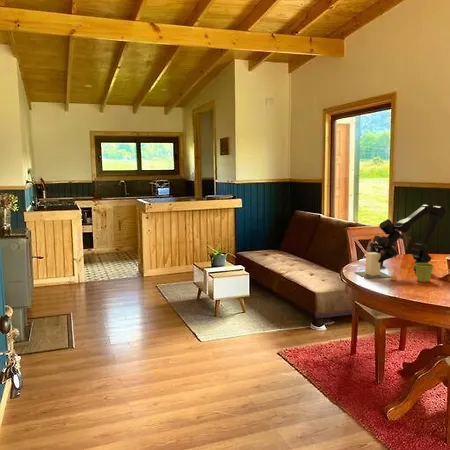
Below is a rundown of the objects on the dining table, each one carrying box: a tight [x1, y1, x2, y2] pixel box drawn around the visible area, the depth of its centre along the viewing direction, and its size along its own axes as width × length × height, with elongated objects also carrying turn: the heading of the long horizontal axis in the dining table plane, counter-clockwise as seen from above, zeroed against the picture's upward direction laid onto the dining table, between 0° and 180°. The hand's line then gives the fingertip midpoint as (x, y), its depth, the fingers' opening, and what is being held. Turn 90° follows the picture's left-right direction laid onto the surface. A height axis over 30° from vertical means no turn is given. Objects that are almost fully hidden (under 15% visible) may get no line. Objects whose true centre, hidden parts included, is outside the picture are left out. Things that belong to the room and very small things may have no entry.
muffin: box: [366, 249, 384, 268], centre depth 275 cm, size 12×11×10 cm
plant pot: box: [413, 262, 435, 283], centre depth 236 cm, size 9×9×9 cm
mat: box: [354, 270, 392, 280], centre depth 251 cm, size 15×15×1 cm
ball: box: [390, 274, 398, 282], centre depth 237 cm, size 3×3×3 cm
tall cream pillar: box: [364, 251, 381, 276], centre depth 250 cm, size 6×6×12 cm
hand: (373, 260), depth 250 cm, fingers open, 9 cm apart
